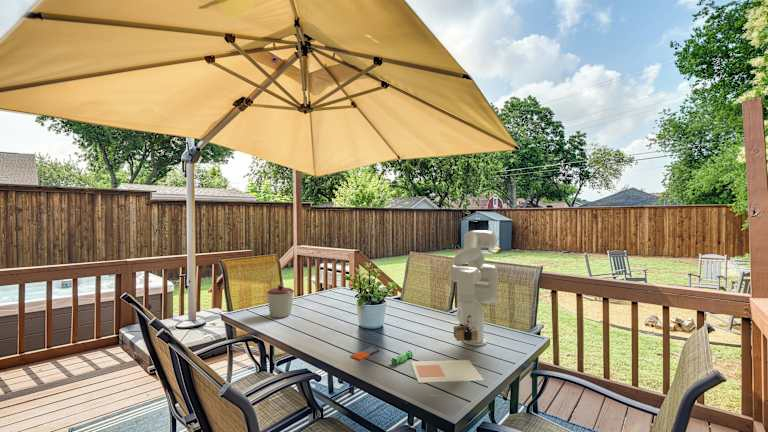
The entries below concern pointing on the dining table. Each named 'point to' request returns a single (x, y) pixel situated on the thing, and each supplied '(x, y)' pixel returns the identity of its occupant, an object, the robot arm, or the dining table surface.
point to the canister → (280, 301)
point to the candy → (402, 357)
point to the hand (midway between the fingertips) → (465, 337)
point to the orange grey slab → (364, 353)
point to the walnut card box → (460, 333)
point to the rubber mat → (445, 371)
